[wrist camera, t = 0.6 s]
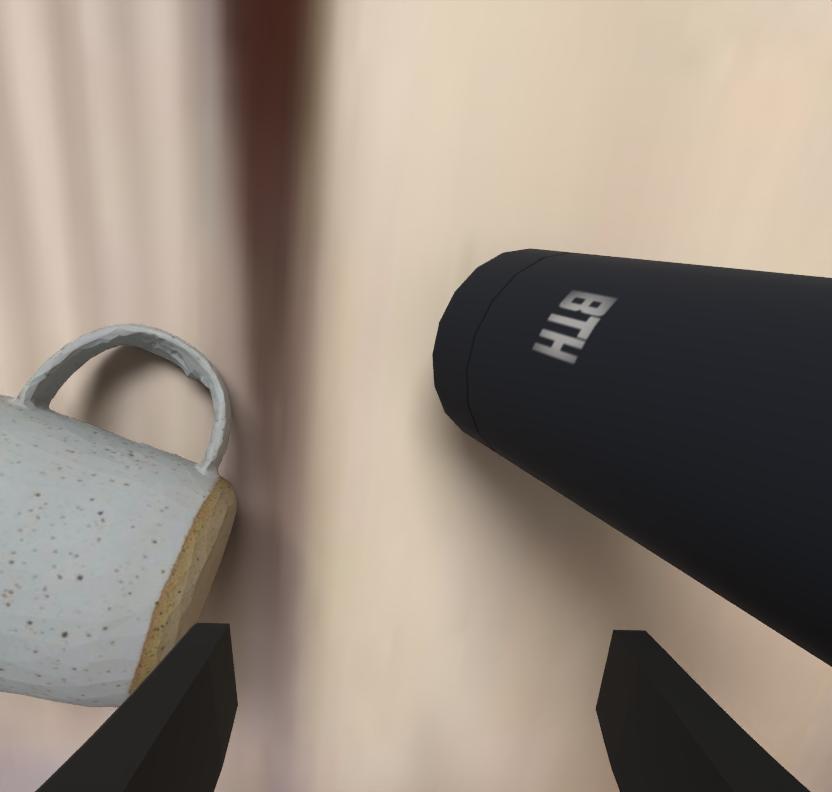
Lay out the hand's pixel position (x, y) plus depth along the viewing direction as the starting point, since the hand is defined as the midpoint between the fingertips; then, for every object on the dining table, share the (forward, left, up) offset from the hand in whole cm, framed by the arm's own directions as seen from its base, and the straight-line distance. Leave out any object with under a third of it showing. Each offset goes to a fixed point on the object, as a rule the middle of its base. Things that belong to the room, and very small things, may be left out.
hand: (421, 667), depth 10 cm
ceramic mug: (-5, +9, -10) cm, 14 cm away
